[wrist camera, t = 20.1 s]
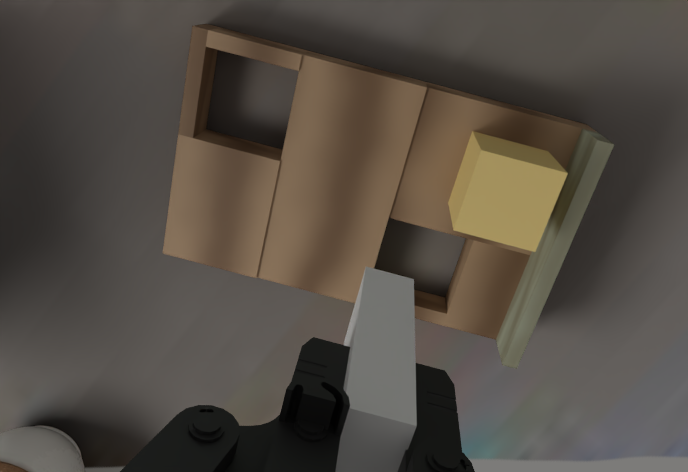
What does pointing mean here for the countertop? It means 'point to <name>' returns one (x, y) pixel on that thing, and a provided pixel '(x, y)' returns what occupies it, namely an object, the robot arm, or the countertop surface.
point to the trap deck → (366, 186)
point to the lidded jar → (39, 450)
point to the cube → (505, 191)
